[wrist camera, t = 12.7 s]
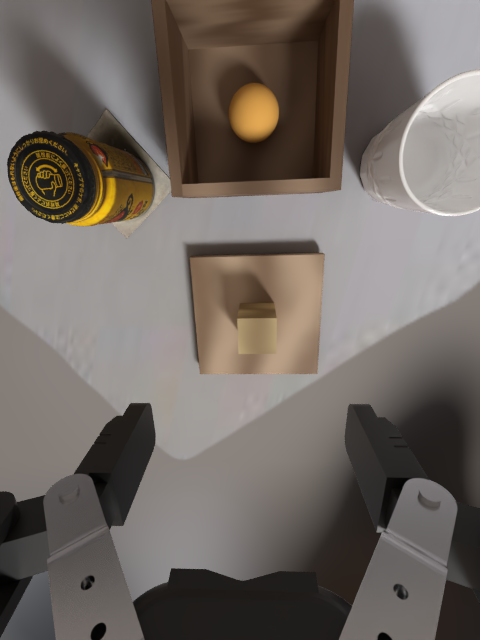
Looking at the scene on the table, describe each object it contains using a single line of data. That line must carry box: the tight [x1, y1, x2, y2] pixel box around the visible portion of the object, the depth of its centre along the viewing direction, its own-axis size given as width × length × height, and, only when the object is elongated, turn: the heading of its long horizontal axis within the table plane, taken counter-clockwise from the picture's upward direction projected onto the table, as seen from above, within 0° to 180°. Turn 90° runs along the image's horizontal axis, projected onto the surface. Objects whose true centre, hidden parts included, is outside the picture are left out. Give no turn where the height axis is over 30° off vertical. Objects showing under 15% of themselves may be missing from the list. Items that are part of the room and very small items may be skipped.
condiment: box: [7, 109, 171, 239], centre depth 24 cm, size 7×8×12 cm
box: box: [151, 0, 354, 198], centre depth 24 cm, size 12×12×8 cm
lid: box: [190, 253, 325, 374], centre depth 31 cm, size 13×13×6 cm
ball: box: [229, 83, 279, 143], centre depth 25 cm, size 4×4×4 cm
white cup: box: [360, 69, 480, 216], centre depth 24 cm, size 8×8×10 cm
